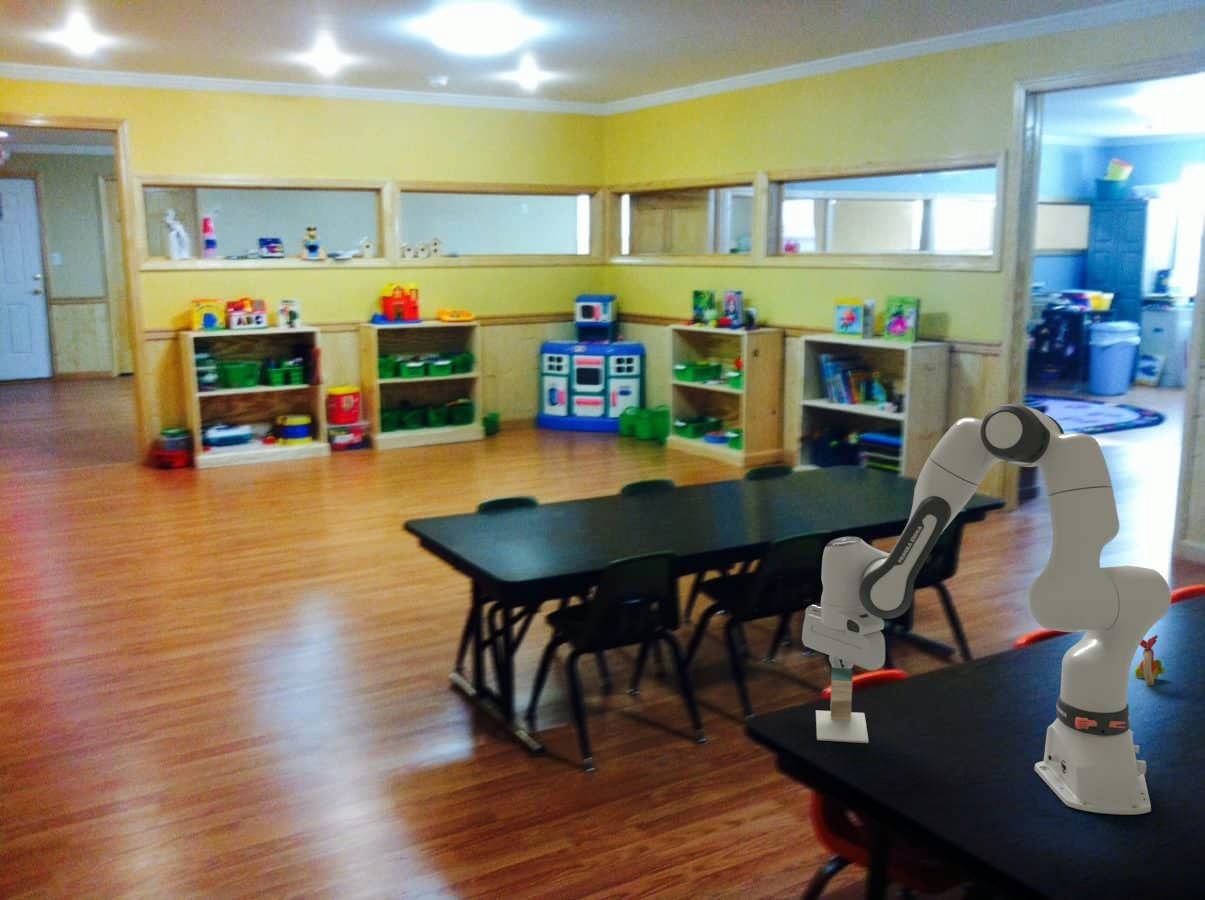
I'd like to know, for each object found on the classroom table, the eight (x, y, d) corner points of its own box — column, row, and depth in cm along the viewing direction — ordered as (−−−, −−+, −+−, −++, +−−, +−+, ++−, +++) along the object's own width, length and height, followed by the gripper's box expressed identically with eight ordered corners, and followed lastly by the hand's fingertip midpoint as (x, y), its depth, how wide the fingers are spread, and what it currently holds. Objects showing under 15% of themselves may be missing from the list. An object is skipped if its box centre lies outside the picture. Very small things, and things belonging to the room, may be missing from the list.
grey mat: (868, 743, 216) (868, 741, 216) (816, 740, 217) (816, 738, 217) (864, 714, 229) (864, 712, 229) (815, 712, 231) (815, 710, 231)
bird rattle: (1164, 696, 242) (1165, 668, 248) (1168, 659, 236) (1168, 631, 243) (1133, 692, 244) (1134, 664, 251) (1135, 655, 239) (1136, 628, 245)
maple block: (850, 720, 225) (852, 679, 222) (831, 719, 226) (832, 678, 222) (850, 709, 229) (851, 668, 225) (830, 708, 230) (831, 667, 226)
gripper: (795, 605, 233) (795, 666, 235) (869, 629, 216) (867, 695, 219) (816, 599, 236) (815, 660, 239) (890, 623, 220) (889, 688, 222)
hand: (841, 677), depth 228 cm, fingers closed
